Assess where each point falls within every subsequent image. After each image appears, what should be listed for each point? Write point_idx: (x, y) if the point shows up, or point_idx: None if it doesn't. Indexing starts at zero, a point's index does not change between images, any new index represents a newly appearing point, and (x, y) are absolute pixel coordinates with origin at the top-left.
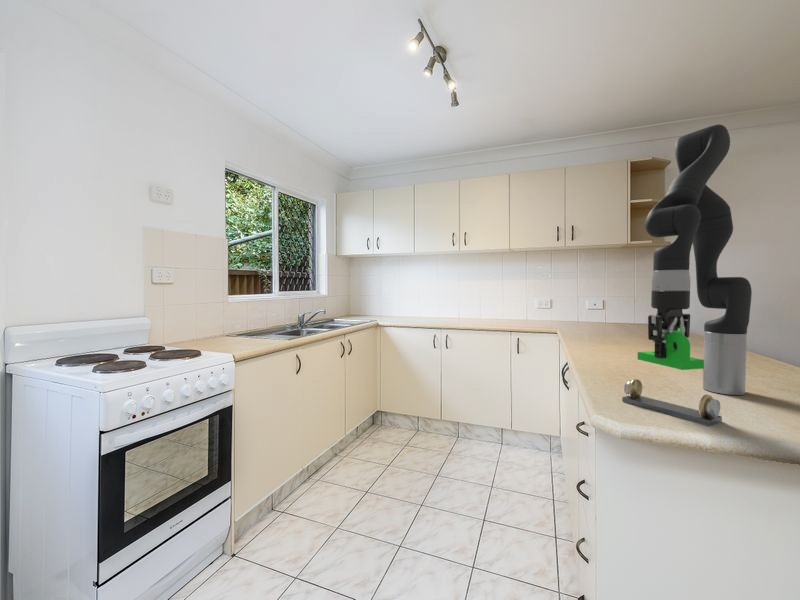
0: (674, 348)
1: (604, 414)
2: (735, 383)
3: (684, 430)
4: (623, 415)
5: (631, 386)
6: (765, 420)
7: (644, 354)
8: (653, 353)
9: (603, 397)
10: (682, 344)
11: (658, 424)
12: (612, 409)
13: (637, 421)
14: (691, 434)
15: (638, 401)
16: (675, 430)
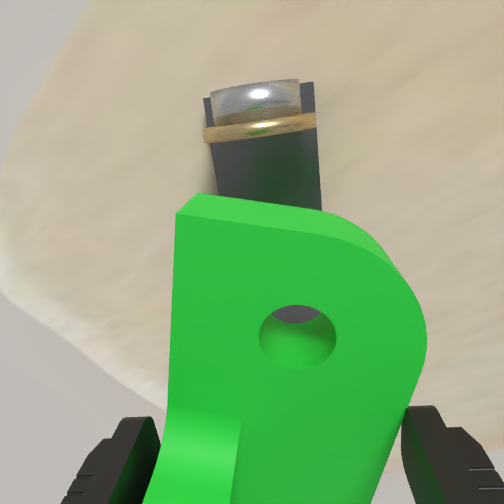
0: (428, 478)
1: (12, 199)
2: None
3: (153, 370)
4: (74, 230)
5: (208, 142)
6: (472, 411)
7: (176, 291)
8: (249, 338)
9: (173, 3)
10: None
11: (121, 321)
12: (81, 167)
13: (77, 284)
14: (144, 389)
15: (217, 178)
16: (128, 362)
